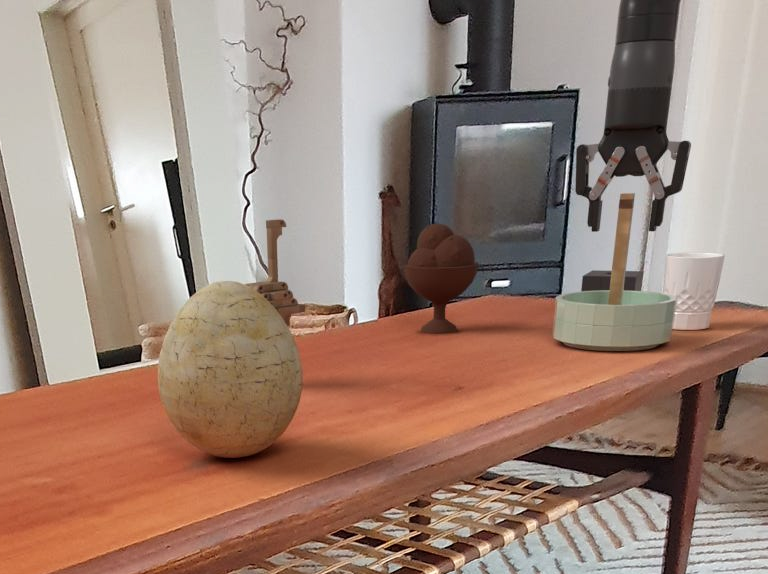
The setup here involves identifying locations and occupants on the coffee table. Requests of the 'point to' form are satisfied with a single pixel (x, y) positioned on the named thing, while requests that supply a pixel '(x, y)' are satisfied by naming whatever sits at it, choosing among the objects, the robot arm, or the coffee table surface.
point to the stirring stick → (621, 248)
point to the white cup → (693, 287)
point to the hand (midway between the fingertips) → (623, 230)
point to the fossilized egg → (229, 371)
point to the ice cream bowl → (440, 271)
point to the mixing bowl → (614, 320)
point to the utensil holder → (603, 278)
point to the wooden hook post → (276, 277)
